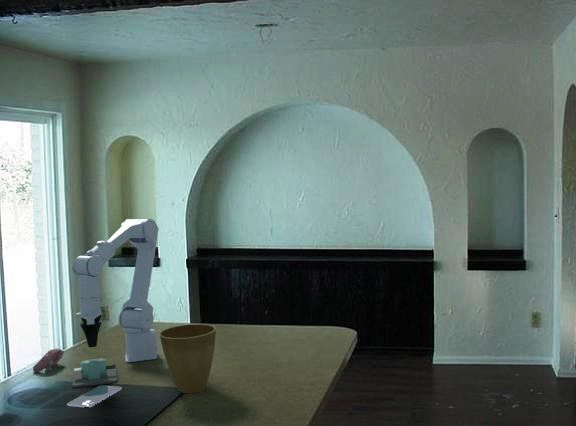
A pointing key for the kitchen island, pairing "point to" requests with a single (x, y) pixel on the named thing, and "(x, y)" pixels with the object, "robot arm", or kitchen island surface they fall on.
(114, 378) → the pad
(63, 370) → the kitchen island surface
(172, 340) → the plant pot
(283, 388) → the kitchen island surface
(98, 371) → the plug
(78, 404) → the mobile phone
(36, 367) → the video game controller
